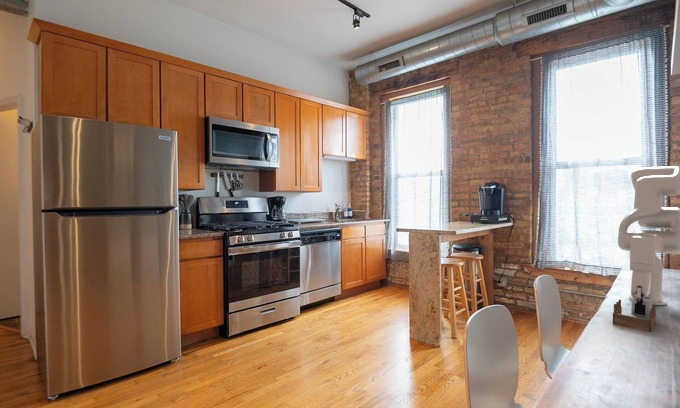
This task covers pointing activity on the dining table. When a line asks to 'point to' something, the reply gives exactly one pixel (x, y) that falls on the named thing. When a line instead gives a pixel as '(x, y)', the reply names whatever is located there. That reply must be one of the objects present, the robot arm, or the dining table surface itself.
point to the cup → (647, 302)
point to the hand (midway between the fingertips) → (641, 311)
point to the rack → (634, 319)
